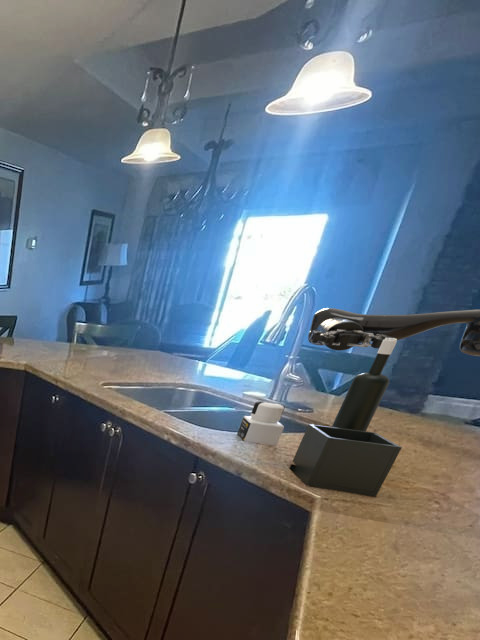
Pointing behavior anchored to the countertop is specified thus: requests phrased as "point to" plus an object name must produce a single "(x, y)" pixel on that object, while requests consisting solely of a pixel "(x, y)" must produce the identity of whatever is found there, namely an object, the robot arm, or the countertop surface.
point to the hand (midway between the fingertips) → (355, 342)
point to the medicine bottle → (262, 424)
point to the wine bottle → (365, 392)
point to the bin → (344, 459)
